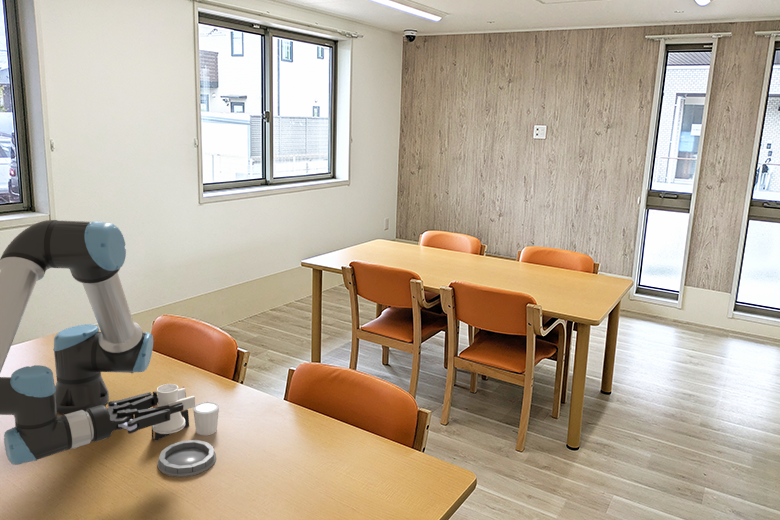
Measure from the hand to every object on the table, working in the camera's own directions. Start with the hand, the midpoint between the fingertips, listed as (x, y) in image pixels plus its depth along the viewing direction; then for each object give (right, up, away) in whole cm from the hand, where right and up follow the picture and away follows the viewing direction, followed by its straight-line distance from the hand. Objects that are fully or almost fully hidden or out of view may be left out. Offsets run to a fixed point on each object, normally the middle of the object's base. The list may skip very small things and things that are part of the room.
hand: (189, 397), depth 148 cm
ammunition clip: (-11, -14, +17) cm, 25 cm away
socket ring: (-2, -17, +4) cm, 18 cm away
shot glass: (-2, -14, +19) cm, 24 cm away
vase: (-4, -7, -2) cm, 8 cm away
